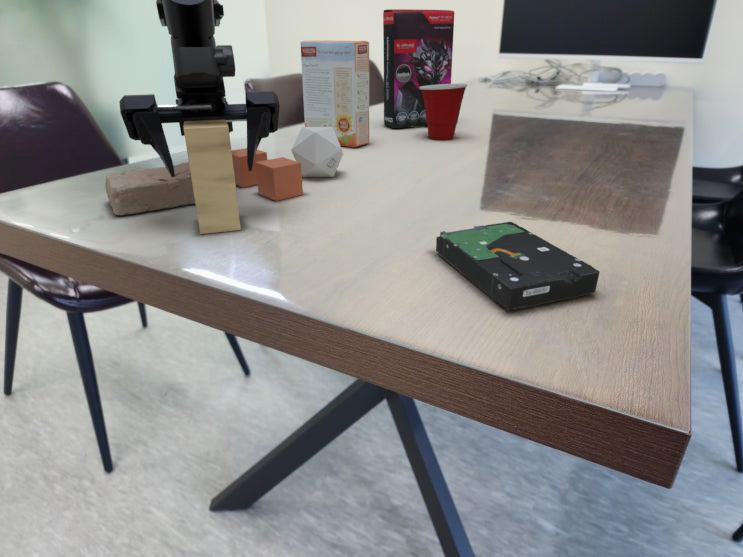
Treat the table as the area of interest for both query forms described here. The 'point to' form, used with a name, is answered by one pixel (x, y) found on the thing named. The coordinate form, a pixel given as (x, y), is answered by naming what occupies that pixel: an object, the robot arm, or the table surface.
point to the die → (317, 151)
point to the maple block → (212, 175)
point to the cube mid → (279, 178)
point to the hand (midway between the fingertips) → (212, 172)
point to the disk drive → (516, 265)
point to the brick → (149, 189)
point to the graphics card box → (414, 61)
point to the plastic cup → (442, 108)
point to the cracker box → (337, 88)
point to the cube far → (245, 167)
